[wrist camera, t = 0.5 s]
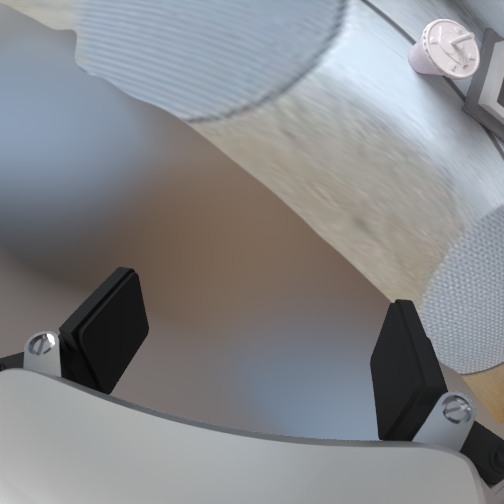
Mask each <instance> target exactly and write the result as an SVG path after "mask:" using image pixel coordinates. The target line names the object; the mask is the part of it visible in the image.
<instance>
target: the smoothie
mask: <svg viewBox="0 0 504 504" xmlns="http://www.w3.org/2000/svg"><path fill="white" fill-rule="evenodd" d="M474 37H475V35H474V34H473V33H472V32H470V33H469V32H468V31H467V30H466V29H465V28H464V27H463V26H462V25H460V24H459V23H457V22H455V21H452V20H449V19H438V20H436V21H433V22H431V23H430V24H428V25H427V27H426V28H425V29H424V32H423V35H422V37H421V38H420V39H419V40H418V41H417V43H416V44H415V45H414V46H413V47H412V48H411V49H410V51H409V53H408V61H409V64H410V66H411V67H412V68H413V69H414V70H415V71H416V72H418V73H421V74H432V75H444V76H446V77H448V78H452V79H459V80H461V79H465V78H468V77H470V76H472V75H473V74H474V73H475V72H476V71H477V69H478V67H479V63H480V54H479V49H478V46H477V44H476V42H475V40H474Z"/></svg>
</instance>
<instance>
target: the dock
mask: <svg viewBox="0 0 504 504" xmlns="http://www.w3.org/2000/svg"><path fill="white" fill-rule="evenodd" d="M462 110H463V111H465V112H466V113H467V114H469V115H470V116H472V117H473V118H474V119H476V120H477V121H478V122H480V123H481V124H482V125H483V126H485V127H486V128H487V129H489V130H490V131H491V132H492V133H494V134H495V135H496V136H497V137H498V138H500V139H501V140H502V141H503V142H504V39H503V38H502V37H501V36H500V35H498V34H497V33H496V32H495V31H493V30H492V29H491V28H488V29H486V31H485V35H484V39H483V43H482V47H481V51H480V63H479V67H478V69H477V71H476V72H475V73H474V75H473V79H472V82H471V85H470V88H469V91H468V94H467V97H466V100H465V103H464V105H463V108H462Z"/></svg>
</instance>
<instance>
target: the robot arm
mask: <svg viewBox="0 0 504 504" xmlns="http://www.w3.org/2000/svg"><path fill="white" fill-rule="evenodd" d="M59 330H60V335H59V336H57V335H56V334H55V333H53V332H51V331H43V332H39V333H37V334H35V335H33V336H32V337H31V338H30V339H29V340H28V341H27V343H26V345H25V351H24V352H22V353H18V354H15V355H11V356H7V357H4V358H0V504H504V440H503V439H502V438H500V437H499V436H497V435H496V434H494V433H492V432H491V431H490V430H488V429H486V428H485V427H484V426H482V425H481V424H479V423H478V422H476V421H475V417H476V408H475V406H474V404H473V402H472V401H471V399H470V398H469V397H467V396H466V395H465V394H462V393H460V392H454V391H452V392H448V390H447V387H446V384H445V381H444V377H443V375H442V371H441V368H440V366H439V363H438V360H437V357H436V354H435V352H434V349H433V346H432V343H431V341H430V339H429V338H428V337H427V336H426V334H425V331H424V329H423V326H422V323H421V321H420V318H419V316H418V313H417V311H416V309H415V306H414V304H413V302H412V301H411V300H401V299H397V300H396V301H395V303H391V304H390V306H389V308H388V311H387V314H386V318H385V320H384V323H383V326H382V329H381V332H380V335H379V337H378V340H377V343H376V346H375V348H374V351H373V354H372V356H371V361H370V367H371V374H372V381H373V389H374V397H375V406H376V415H377V425H378V436H379V439H380V440H383V441H359V440H335V439H334V440H333V439H316V438H304V437H293V436H284V435H275V434H268V433H261V432H254V431H247V430H241V429H235V428H229V427H224V426H219V425H214V424H209V423H205V422H200V421H196V420H192V419H187V418H183V417H179V416H175V415H172V414H168V413H164V412H161V411H157V410H153V409H150V408H146V407H143V406H140V405H137V404H134V403H130V402H127V401H124V400H121V399H118V398H116V397H113V396H110V395H109V394H110V393H111V392H112V390H113V389H114V387H115V386H116V384H117V382H118V381H119V379H120V377H121V376H122V374H123V373H124V371H125V369H126V368H127V366H128V365H129V363H130V362H131V360H132V358H133V357H134V355H135V353H136V352H137V350H138V349H139V347H140V346H141V344H142V343H143V341H144V339H145V338H146V336H147V335H148V330H149V325H148V321H147V316H146V312H145V307H144V302H143V297H142V292H141V286H140V281H139V276H138V274H137V273H135V271H134V269H131V268H124V267H119V268H117V269H116V270H115V272H113V273H112V274H111V275H110V276H109V277H108V278H107V279H106V280H105V281H104V282H103V283H102V284H101V285H100V286H99V287H98V288H97V289H96V290H95V291H94V292H93V293H92V294H91V295H90V296H89V297H88V298H87V299H86V300H85V301H84V302H83V303H82V305H81V306H80V307H79V308H78V309H77V310H76V311H75V312H74V313H73V314H72V315H71V316H70V317H69V318H68V320H66V321H65V323H64V324H63V325H62V326H61V327H60V328H59Z"/></svg>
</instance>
